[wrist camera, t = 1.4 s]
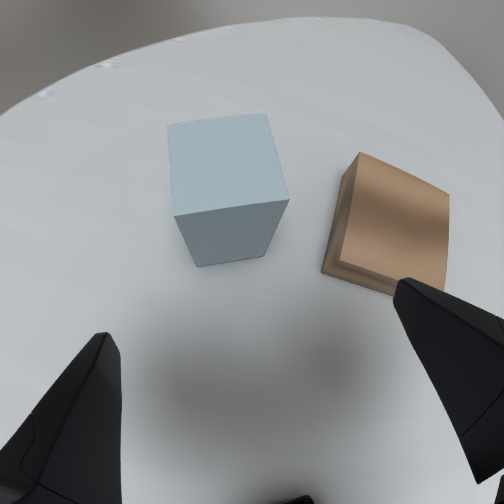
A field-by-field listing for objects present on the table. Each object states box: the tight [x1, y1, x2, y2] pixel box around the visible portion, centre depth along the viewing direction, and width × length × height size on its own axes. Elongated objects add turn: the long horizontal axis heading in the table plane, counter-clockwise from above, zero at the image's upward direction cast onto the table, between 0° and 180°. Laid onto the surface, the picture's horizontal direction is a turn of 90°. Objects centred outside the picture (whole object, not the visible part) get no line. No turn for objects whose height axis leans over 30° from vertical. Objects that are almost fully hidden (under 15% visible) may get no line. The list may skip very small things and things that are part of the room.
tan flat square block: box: [321, 152, 449, 296], centre depth 22 cm, size 9×9×4 cm
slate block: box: [167, 113, 290, 267], centre depth 18 cm, size 5×5×10 cm
